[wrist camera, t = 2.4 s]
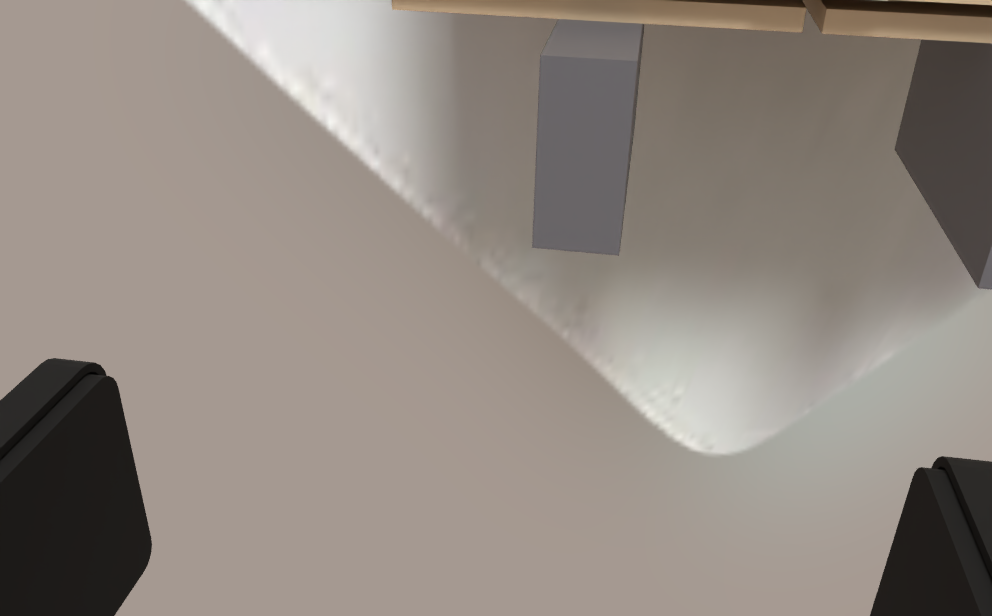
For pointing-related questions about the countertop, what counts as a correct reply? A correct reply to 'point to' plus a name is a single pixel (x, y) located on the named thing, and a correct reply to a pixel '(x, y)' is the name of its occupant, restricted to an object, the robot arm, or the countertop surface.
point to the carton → (957, 1)
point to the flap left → (600, 99)
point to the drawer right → (939, 109)
